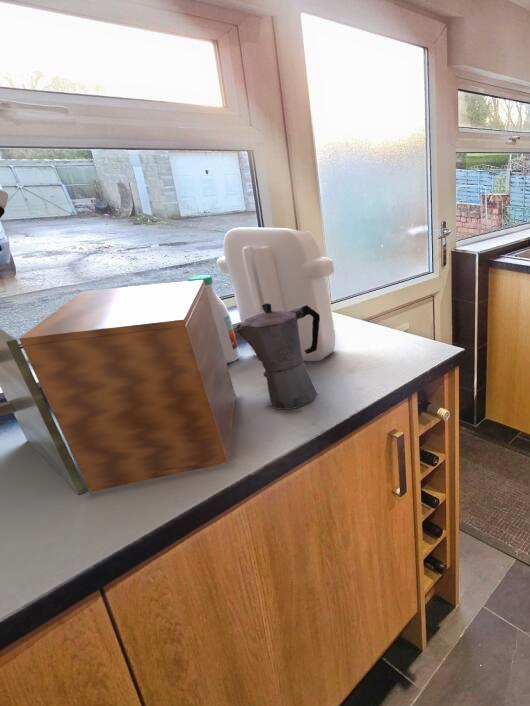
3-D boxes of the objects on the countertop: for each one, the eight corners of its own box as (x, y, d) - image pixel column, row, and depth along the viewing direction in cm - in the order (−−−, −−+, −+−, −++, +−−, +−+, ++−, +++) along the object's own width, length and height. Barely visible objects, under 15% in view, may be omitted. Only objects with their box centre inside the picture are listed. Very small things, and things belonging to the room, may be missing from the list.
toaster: (226, 359, 119) (190, 230, 106) (257, 343, 129) (227, 223, 116) (328, 368, 113) (303, 233, 101) (352, 350, 123) (332, 225, 110)
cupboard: (89, 492, 72) (18, 338, 62) (130, 415, 94) (82, 291, 84) (227, 463, 79) (183, 319, 69) (236, 397, 101) (203, 279, 90)
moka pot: (246, 404, 97) (219, 306, 89) (319, 380, 108) (302, 289, 99) (267, 420, 92) (240, 316, 83) (342, 393, 102) (325, 298, 93)
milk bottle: (230, 365, 115) (206, 280, 107) (197, 366, 115) (171, 281, 107) (246, 353, 122) (225, 272, 114) (215, 353, 122) (192, 273, 114)
